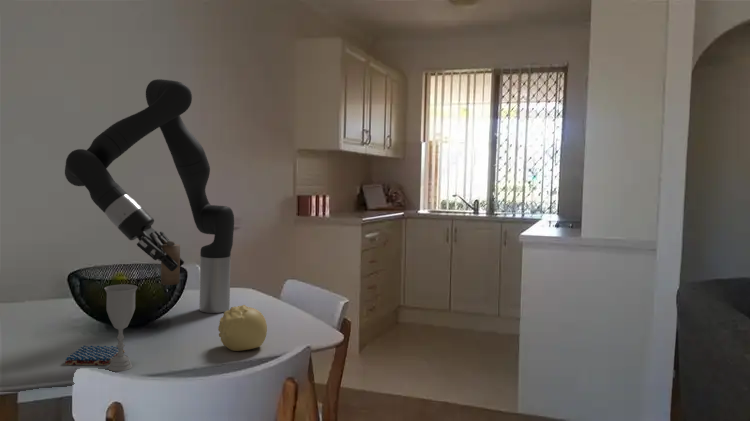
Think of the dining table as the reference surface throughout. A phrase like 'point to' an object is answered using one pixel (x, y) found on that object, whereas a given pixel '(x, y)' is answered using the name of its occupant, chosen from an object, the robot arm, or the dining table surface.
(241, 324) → the sculpture
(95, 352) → the woven mat
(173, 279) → the walnut pepper mill
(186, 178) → the robot arm
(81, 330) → the dining table surface
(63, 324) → the dining table surface
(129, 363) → the chalice
